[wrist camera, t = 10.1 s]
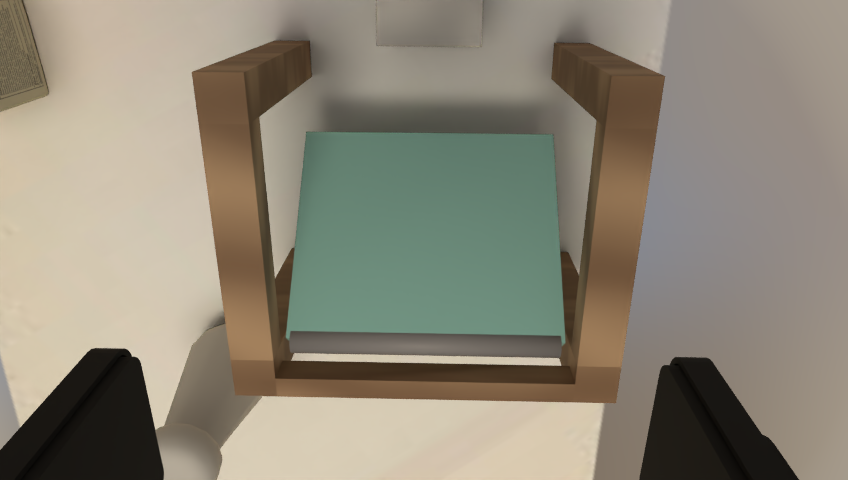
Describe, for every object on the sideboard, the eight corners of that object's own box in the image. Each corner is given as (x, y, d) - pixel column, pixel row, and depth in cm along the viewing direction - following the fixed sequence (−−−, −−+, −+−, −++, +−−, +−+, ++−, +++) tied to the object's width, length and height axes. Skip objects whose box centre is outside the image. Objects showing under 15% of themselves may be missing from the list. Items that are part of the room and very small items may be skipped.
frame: (274, 40, 36) (191, 72, 24) (589, 43, 36) (664, 76, 24) (294, 275, 42) (235, 395, 30) (565, 279, 41) (615, 403, 29)
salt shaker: (262, 298, 43) (192, 424, 31) (298, 365, 45) (245, 508, 33) (187, 324, 43) (90, 456, 31) (225, 388, 45) (148, 535, 33)
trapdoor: (310, 142, 34) (306, 130, 33) (549, 144, 34) (553, 133, 33) (289, 354, 30) (284, 350, 29) (561, 360, 30) (566, 355, 29)
